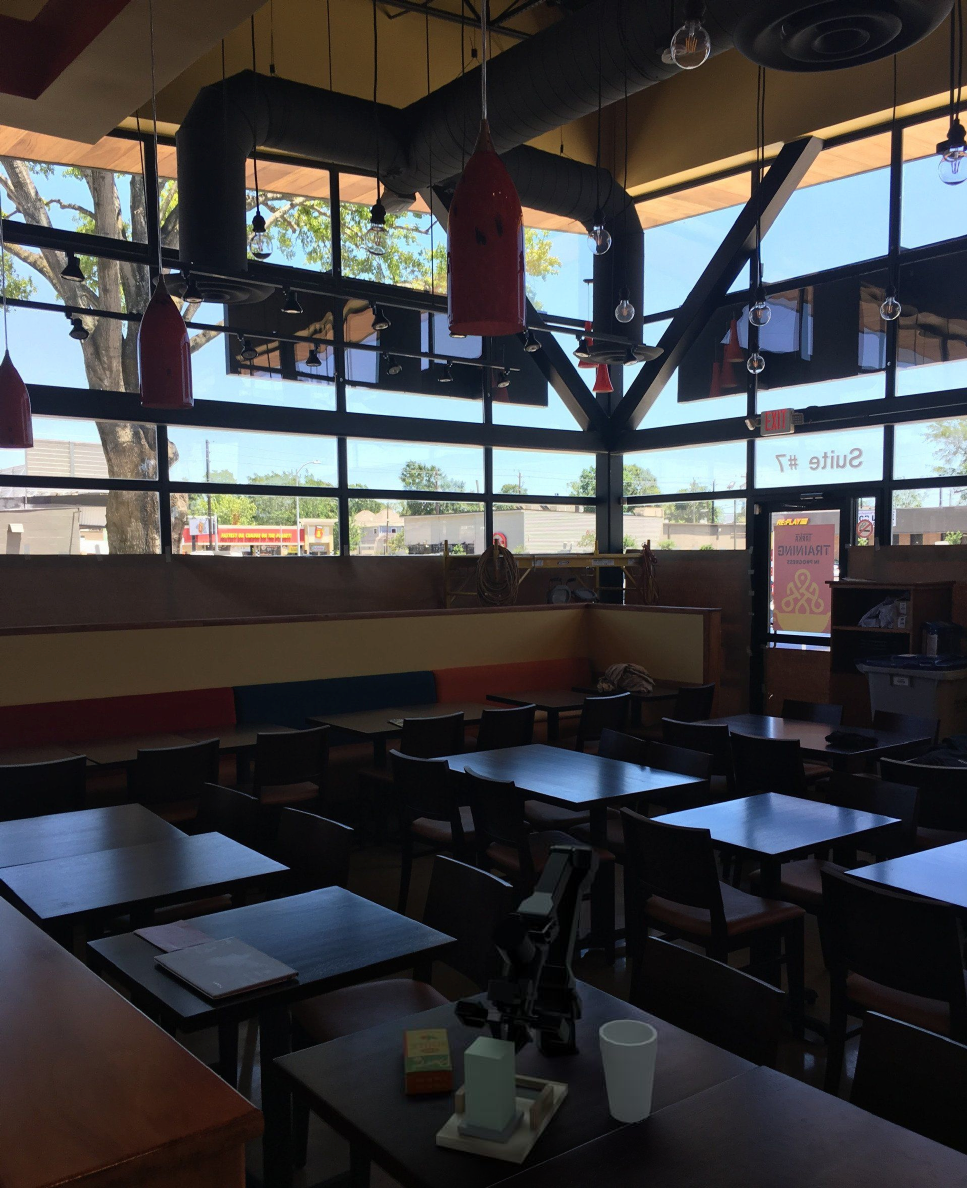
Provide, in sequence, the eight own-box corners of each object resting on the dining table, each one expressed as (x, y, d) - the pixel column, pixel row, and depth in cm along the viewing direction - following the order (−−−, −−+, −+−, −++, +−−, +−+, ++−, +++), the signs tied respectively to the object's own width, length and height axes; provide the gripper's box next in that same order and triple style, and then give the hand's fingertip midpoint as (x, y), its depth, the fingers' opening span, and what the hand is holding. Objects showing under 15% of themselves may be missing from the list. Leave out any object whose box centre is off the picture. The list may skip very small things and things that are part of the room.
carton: (447, 1049, 181) (447, 1026, 181) (453, 1093, 165) (453, 1068, 165) (403, 1052, 180) (402, 1029, 180) (405, 1096, 164) (404, 1071, 164)
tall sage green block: (478, 1106, 156) (476, 1032, 156) (524, 1116, 153) (522, 1040, 153) (457, 1132, 149) (455, 1054, 149) (505, 1142, 146) (503, 1063, 146)
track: (491, 1078, 169) (491, 1052, 169) (567, 1092, 163) (567, 1066, 163) (436, 1144, 149) (435, 1115, 149) (521, 1163, 143) (520, 1133, 143)
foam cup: (663, 1102, 160) (661, 1023, 160) (654, 1131, 151) (652, 1048, 151) (607, 1094, 163) (605, 1016, 163) (595, 1122, 154) (593, 1040, 154)
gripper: (457, 949, 163) (429, 1043, 152) (562, 963, 155) (540, 1062, 145) (477, 979, 170) (451, 1070, 160) (578, 994, 162) (558, 1090, 152)
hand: (498, 1073), depth 154 cm, fingers closed, pressing on tall sage green block
